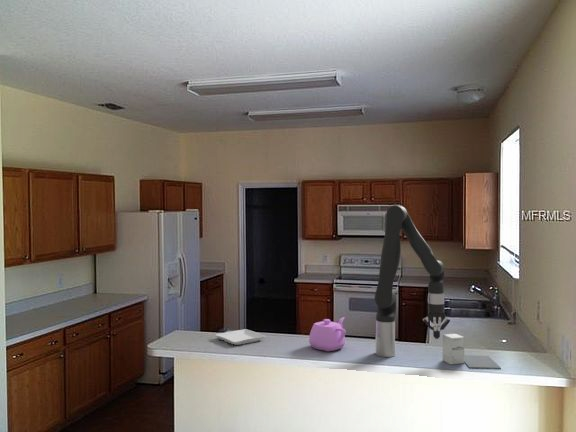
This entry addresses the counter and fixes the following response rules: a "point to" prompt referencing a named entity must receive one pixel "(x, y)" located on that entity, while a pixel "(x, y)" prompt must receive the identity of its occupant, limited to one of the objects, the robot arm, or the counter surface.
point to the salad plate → (240, 336)
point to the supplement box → (453, 348)
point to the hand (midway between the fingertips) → (436, 338)
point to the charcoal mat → (480, 362)
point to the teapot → (327, 335)
